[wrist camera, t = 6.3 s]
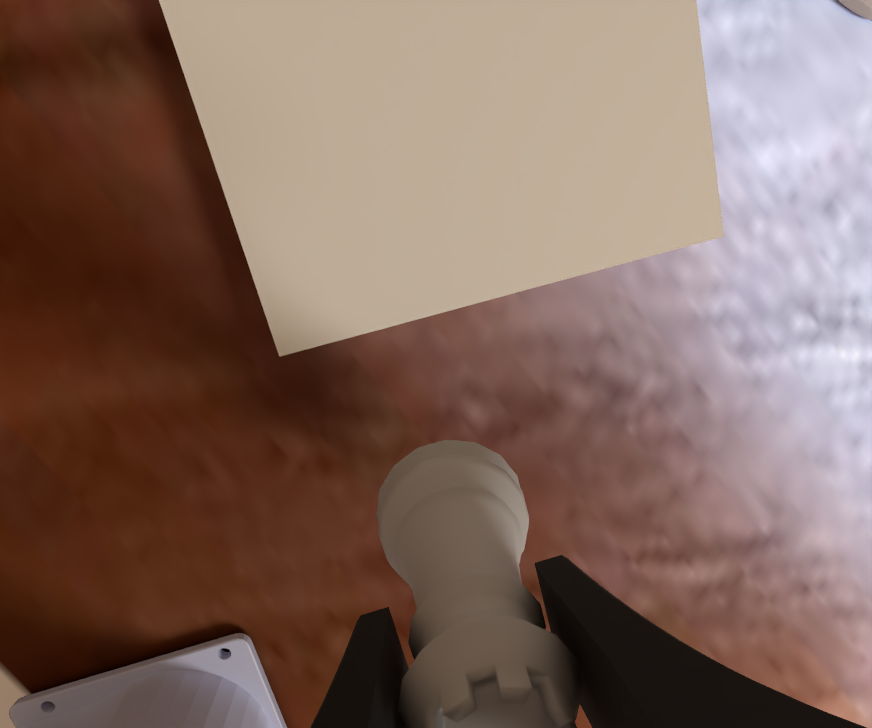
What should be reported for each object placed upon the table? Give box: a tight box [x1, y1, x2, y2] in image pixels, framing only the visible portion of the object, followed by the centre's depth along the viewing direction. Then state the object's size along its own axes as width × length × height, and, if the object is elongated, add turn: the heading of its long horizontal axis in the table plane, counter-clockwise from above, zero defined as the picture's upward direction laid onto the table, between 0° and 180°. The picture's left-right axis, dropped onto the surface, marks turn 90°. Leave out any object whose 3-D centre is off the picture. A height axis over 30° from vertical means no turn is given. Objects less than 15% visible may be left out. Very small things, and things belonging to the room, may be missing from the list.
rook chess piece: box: [376, 440, 583, 728], centre depth 12 cm, size 4×4×8 cm
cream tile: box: [159, 0, 724, 357], centre depth 17 cm, size 16×11×2 cm
